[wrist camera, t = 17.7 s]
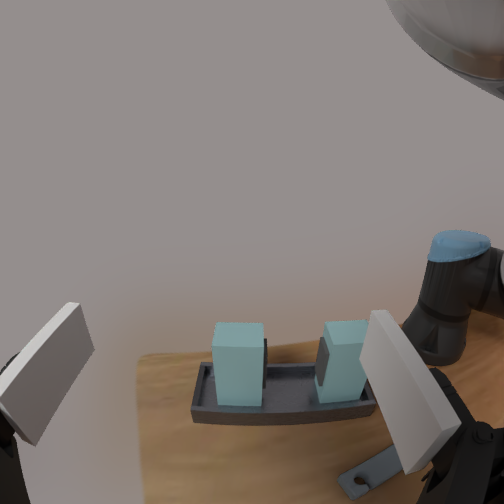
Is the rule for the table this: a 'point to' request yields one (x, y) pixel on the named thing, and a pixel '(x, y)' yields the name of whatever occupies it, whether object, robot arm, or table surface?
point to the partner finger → (340, 361)
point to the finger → (239, 363)
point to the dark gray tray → (277, 400)
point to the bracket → (371, 473)
